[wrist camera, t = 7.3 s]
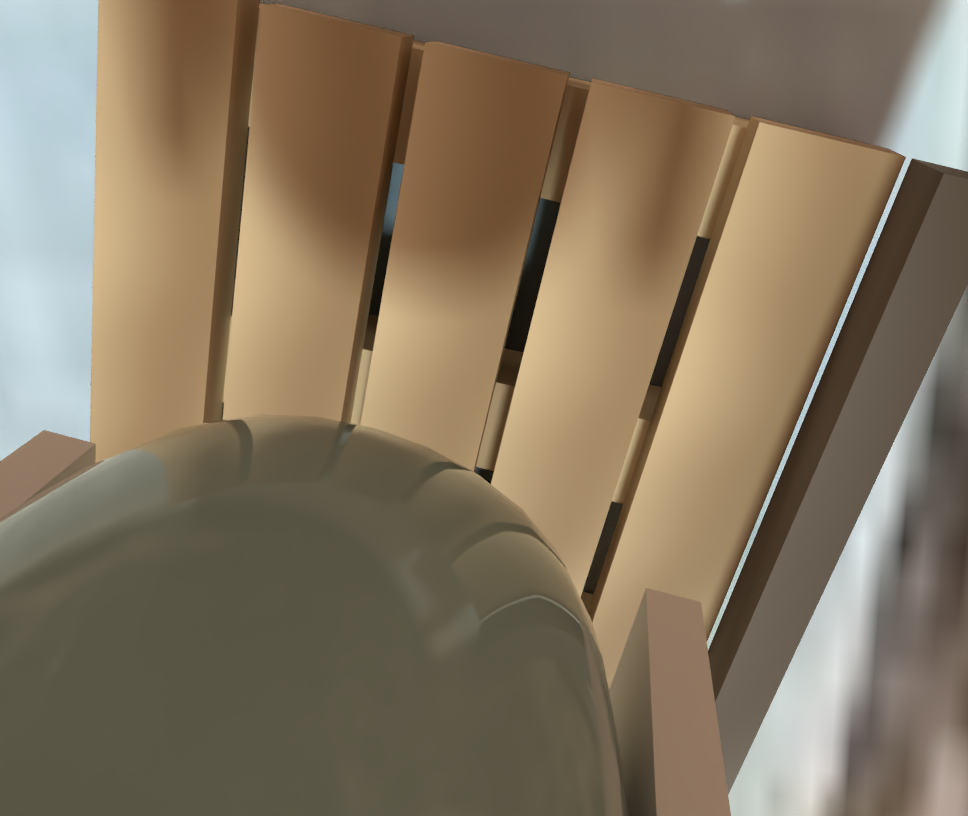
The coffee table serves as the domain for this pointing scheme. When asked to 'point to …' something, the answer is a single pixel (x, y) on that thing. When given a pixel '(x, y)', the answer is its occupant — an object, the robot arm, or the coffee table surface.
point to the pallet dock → (493, 290)
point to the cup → (294, 637)
